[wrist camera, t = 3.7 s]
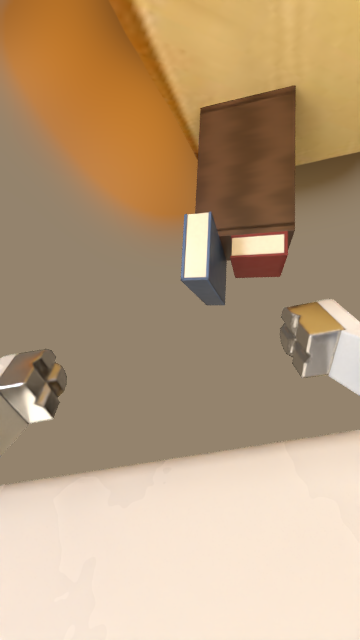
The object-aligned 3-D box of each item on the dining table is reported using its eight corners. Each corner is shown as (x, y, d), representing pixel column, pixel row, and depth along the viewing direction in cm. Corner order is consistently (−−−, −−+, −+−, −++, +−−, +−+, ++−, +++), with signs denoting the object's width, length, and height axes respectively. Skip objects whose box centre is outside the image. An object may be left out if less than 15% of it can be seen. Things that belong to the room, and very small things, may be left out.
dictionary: (287, 230, 39) (287, 254, 39) (280, 257, 50) (280, 276, 50) (230, 235, 42) (230, 257, 41) (235, 260, 53) (235, 277, 53)
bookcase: (295, 85, 42) (294, 230, 39) (286, 142, 53) (285, 257, 50) (200, 107, 46) (193, 238, 44) (211, 155, 58) (206, 261, 55)
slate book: (211, 211, 35) (208, 279, 34) (226, 260, 54) (224, 305, 53) (184, 214, 36) (180, 280, 35) (208, 261, 55) (206, 305, 54)
